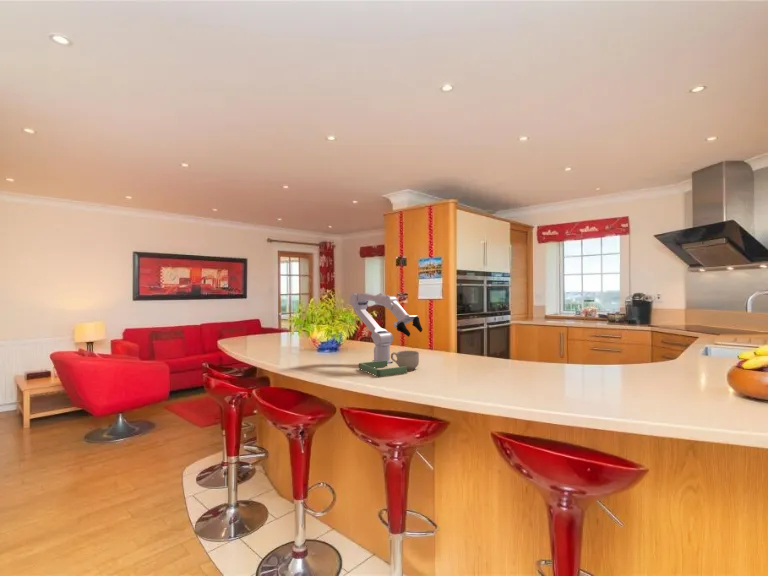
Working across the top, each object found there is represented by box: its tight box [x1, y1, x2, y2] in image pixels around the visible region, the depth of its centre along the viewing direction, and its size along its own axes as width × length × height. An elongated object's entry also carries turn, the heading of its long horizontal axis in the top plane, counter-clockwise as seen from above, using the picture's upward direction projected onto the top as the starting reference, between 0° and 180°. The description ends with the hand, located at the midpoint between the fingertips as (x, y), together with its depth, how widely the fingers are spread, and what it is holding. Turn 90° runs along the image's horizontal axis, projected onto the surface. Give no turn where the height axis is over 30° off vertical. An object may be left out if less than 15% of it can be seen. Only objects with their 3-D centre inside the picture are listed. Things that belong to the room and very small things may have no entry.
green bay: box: [358, 360, 408, 377], centre depth 179 cm, size 20×15×3 cm
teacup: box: [390, 350, 420, 371], centre depth 185 cm, size 14×11×8 cm
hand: (415, 333), depth 186 cm, fingers open, 7 cm apart
